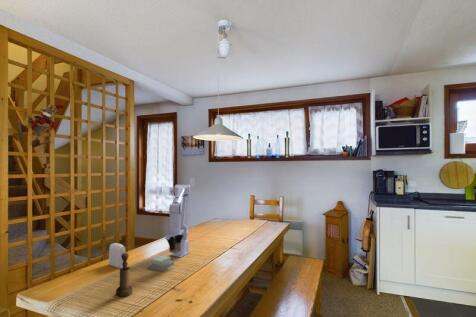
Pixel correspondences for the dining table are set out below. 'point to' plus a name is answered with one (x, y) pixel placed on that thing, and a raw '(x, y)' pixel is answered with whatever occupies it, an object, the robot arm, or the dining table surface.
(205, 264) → the dining table surface
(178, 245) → the walnut cube
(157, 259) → the tower top slab
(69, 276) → the dining table surface
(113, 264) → the photo printer
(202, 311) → the dining table surface
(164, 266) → the tower base slab
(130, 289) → the mortar and pestle
